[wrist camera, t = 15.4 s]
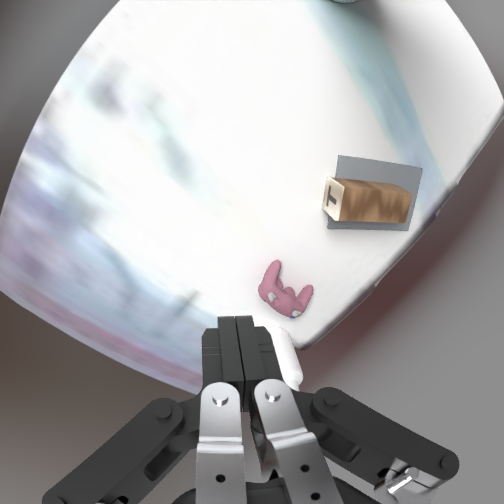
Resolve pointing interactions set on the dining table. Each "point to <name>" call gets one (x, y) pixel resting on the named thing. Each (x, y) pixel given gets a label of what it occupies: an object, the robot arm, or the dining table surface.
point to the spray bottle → (286, 357)
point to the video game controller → (283, 293)
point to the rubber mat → (384, 174)
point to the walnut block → (366, 201)
